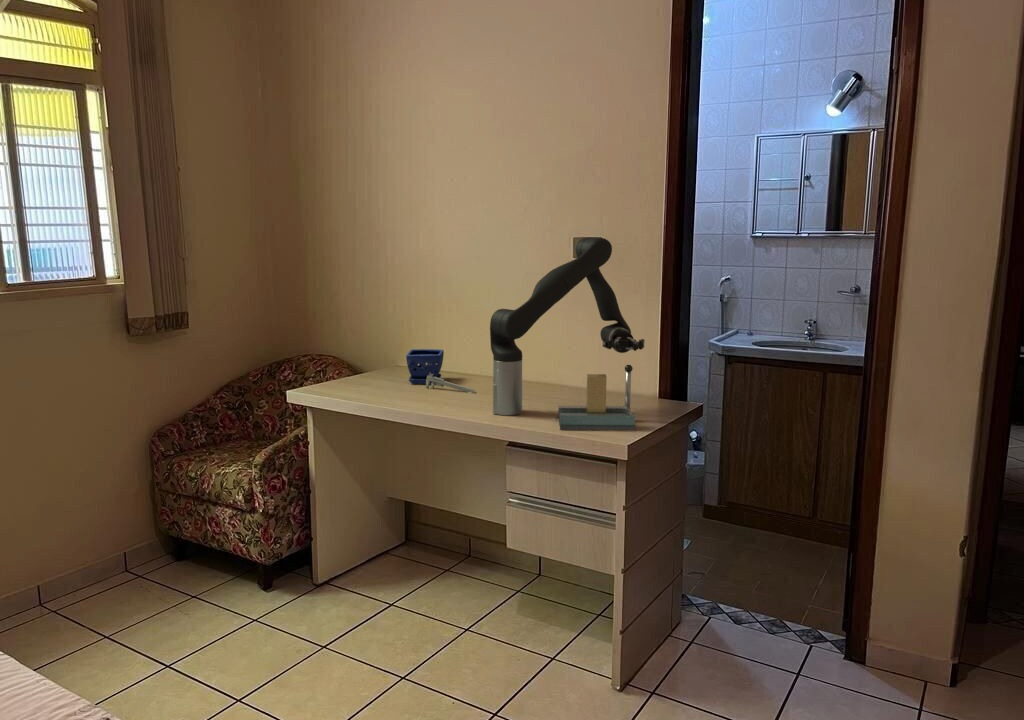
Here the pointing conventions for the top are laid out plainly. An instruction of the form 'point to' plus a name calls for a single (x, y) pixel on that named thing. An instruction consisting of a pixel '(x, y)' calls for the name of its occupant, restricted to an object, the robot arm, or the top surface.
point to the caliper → (444, 383)
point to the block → (596, 393)
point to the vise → (596, 421)
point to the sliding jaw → (609, 409)
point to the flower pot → (424, 364)
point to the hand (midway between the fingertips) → (627, 347)
